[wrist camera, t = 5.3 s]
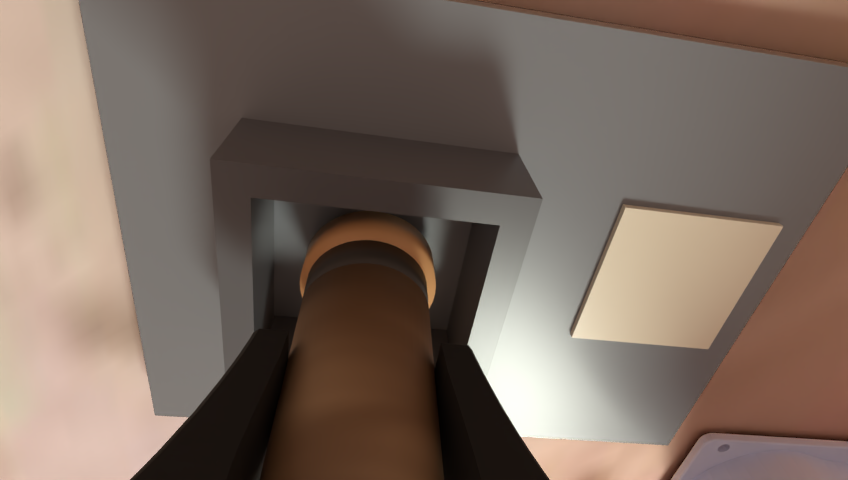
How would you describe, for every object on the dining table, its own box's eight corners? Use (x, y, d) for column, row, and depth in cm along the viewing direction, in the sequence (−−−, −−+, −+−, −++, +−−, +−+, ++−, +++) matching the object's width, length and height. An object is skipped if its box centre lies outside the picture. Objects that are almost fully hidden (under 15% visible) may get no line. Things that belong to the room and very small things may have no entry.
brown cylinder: (435, 245, 13) (493, 719, 5) (419, 338, 15) (446, 796, 7) (306, 234, 12) (173, 727, 5) (305, 330, 14) (205, 806, 7)
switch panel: (874, 67, 14) (1010, 108, 11) (657, 424, 22) (700, 507, 19) (91, -65, 11) (-20, -59, 8) (165, 393, 19) (122, 482, 16)
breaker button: (443, 218, 14) (446, 238, 13) (422, 320, 15) (424, 342, 15) (308, 203, 13) (301, 222, 12) (303, 309, 15) (298, 332, 14)
